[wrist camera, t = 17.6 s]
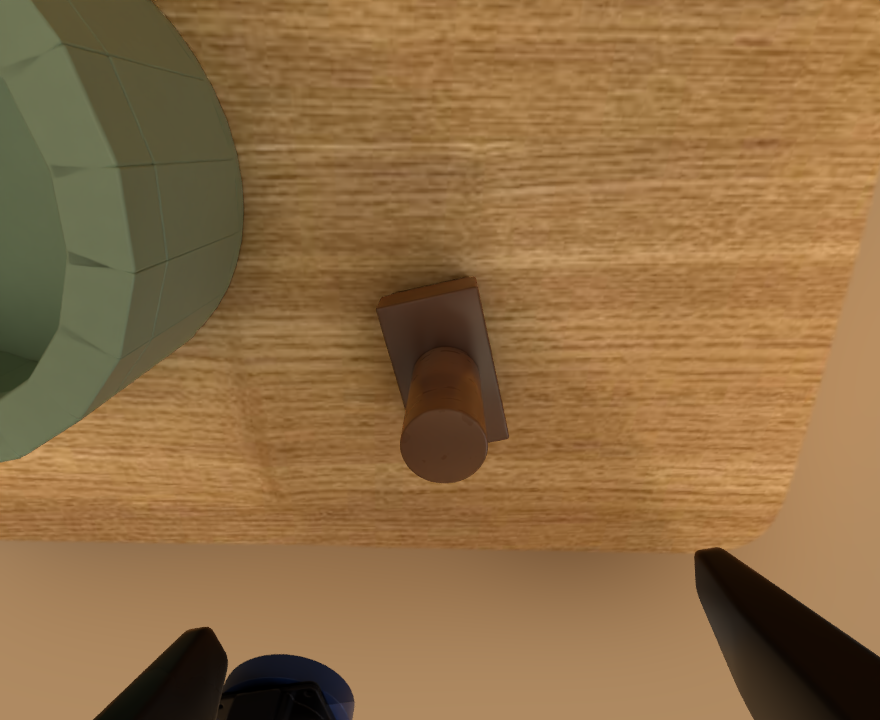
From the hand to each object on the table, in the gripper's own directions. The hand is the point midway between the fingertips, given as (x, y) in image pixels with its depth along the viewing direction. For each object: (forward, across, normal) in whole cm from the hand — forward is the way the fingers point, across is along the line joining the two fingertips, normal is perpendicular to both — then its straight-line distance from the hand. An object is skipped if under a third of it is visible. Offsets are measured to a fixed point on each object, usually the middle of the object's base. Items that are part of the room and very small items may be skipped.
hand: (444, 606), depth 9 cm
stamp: (+12, 0, 0) cm, 12 cm away
